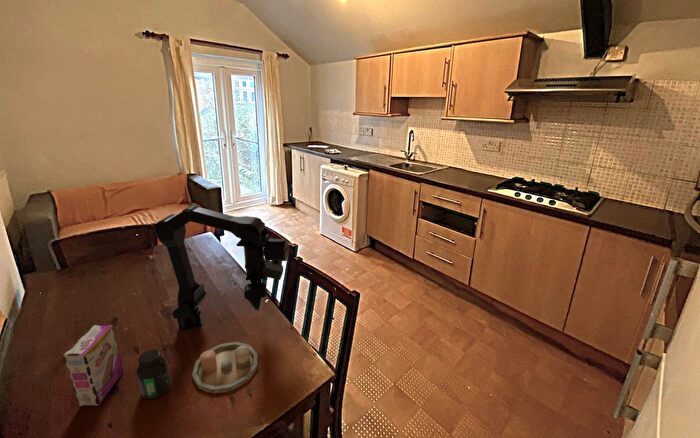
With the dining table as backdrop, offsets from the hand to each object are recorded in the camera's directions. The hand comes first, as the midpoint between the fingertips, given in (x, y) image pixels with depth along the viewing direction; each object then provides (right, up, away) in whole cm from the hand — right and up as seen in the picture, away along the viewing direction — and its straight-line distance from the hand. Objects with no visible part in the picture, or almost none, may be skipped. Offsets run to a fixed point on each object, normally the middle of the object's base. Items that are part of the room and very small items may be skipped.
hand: (257, 301), depth 105 cm
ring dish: (-6, -17, -12) cm, 21 cm away
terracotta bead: (-10, -16, -13) cm, 23 cm away
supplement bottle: (-21, -19, -19) cm, 34 cm away
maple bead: (-1, -16, -11) cm, 19 cm away
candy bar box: (-36, -19, -19) cm, 44 cm away
